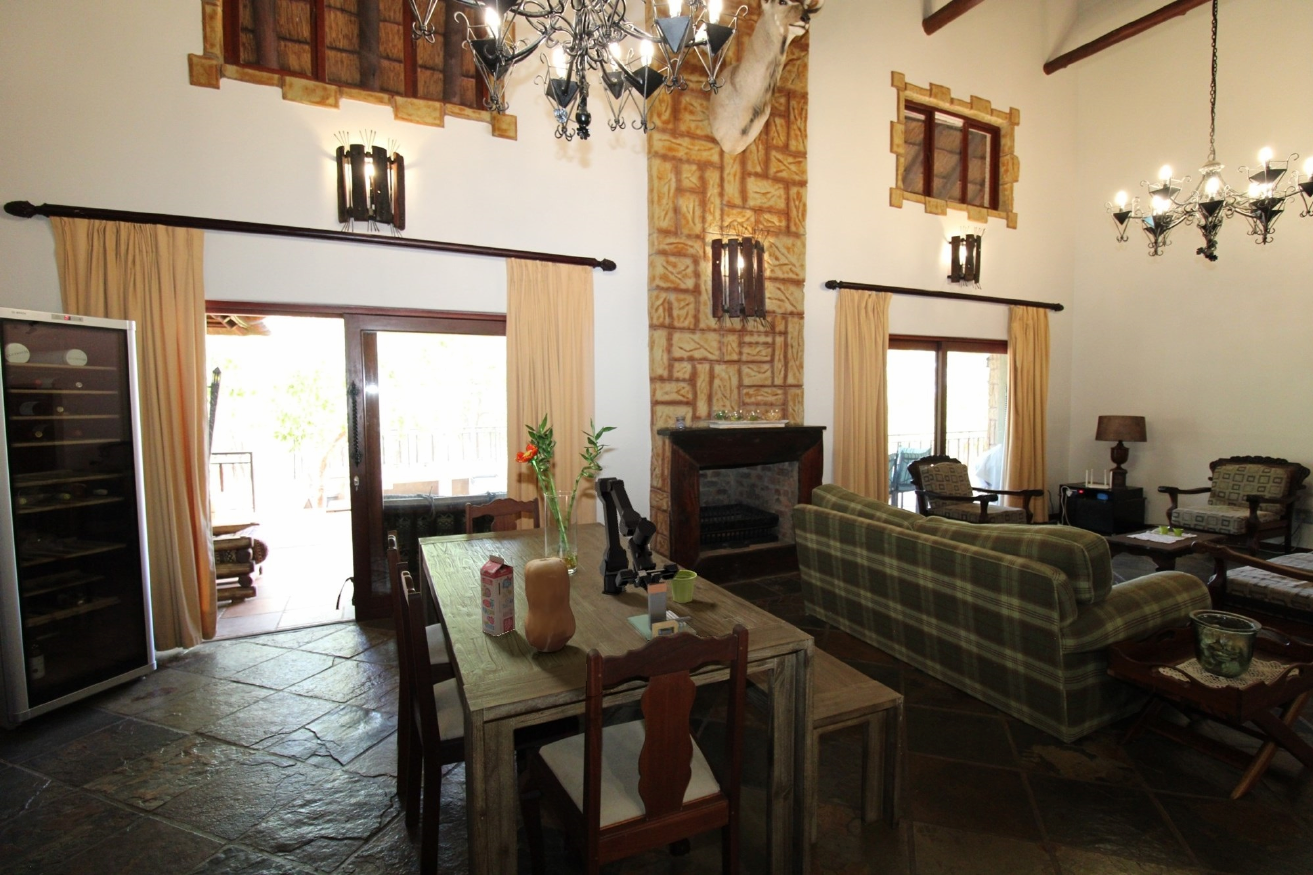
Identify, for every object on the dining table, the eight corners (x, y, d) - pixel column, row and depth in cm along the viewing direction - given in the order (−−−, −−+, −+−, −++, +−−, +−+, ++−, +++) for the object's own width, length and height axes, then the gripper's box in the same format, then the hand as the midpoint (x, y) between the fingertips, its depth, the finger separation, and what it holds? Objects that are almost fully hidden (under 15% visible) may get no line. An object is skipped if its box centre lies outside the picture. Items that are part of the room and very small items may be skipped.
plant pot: (694, 606, 195) (694, 579, 194) (665, 604, 197) (665, 578, 196) (698, 596, 204) (698, 570, 203) (671, 594, 206) (670, 569, 205)
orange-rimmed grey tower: (648, 628, 175) (647, 583, 174) (688, 620, 180) (688, 577, 179) (658, 637, 168) (658, 592, 167) (700, 629, 173) (700, 585, 172)
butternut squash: (543, 636, 172) (541, 549, 170) (585, 643, 167) (583, 554, 165) (514, 656, 160) (511, 563, 157) (558, 664, 154) (555, 568, 152)
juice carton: (501, 624, 181) (498, 552, 179) (515, 629, 177) (512, 555, 175) (482, 631, 176) (479, 557, 174) (496, 637, 172) (493, 561, 170)
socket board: (627, 620, 183) (627, 606, 183) (669, 612, 189) (669, 599, 189) (650, 643, 167) (650, 628, 167) (696, 634, 172) (696, 619, 172)
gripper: (661, 563, 194) (676, 608, 185) (605, 571, 186) (618, 618, 177) (671, 545, 186) (688, 591, 177) (614, 552, 179) (628, 600, 169)
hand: (655, 600), depth 175 cm, fingers closed
